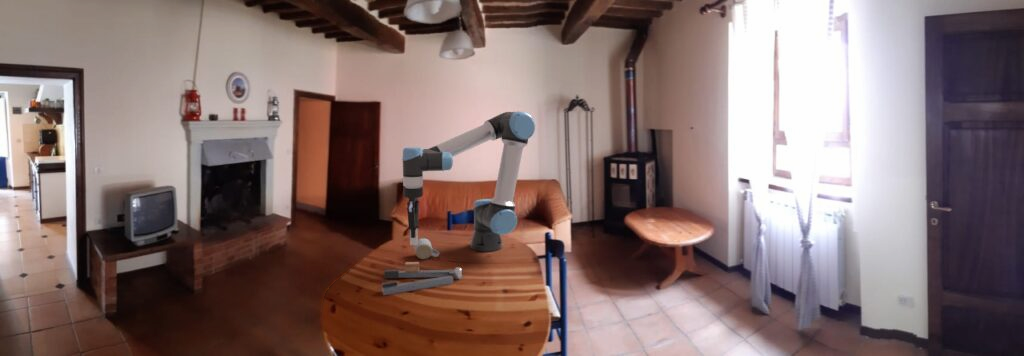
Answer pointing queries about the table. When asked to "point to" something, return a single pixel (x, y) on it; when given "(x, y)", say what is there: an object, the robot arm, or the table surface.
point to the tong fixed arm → (414, 285)
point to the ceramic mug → (425, 249)
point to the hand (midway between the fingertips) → (413, 244)
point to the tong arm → (421, 272)
